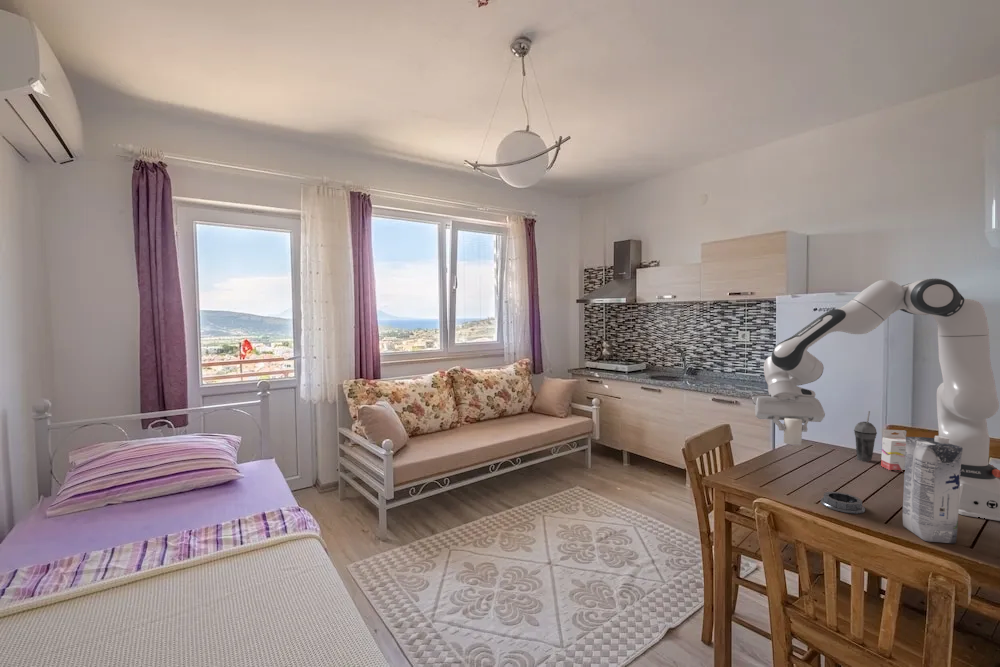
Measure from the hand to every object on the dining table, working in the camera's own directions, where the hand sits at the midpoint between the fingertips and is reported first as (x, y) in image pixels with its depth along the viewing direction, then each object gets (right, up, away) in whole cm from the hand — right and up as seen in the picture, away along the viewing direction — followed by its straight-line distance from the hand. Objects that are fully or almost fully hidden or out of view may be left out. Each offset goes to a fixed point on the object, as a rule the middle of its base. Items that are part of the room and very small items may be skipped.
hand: (793, 430), depth 151 cm
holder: (+9, -21, -10) cm, 25 cm away
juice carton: (+18, -23, -28) cm, 40 cm away
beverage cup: (+50, -19, +34) cm, 64 cm away
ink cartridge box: (+54, -20, +23) cm, 62 cm away
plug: (0, -4, +1) cm, 4 cm away
